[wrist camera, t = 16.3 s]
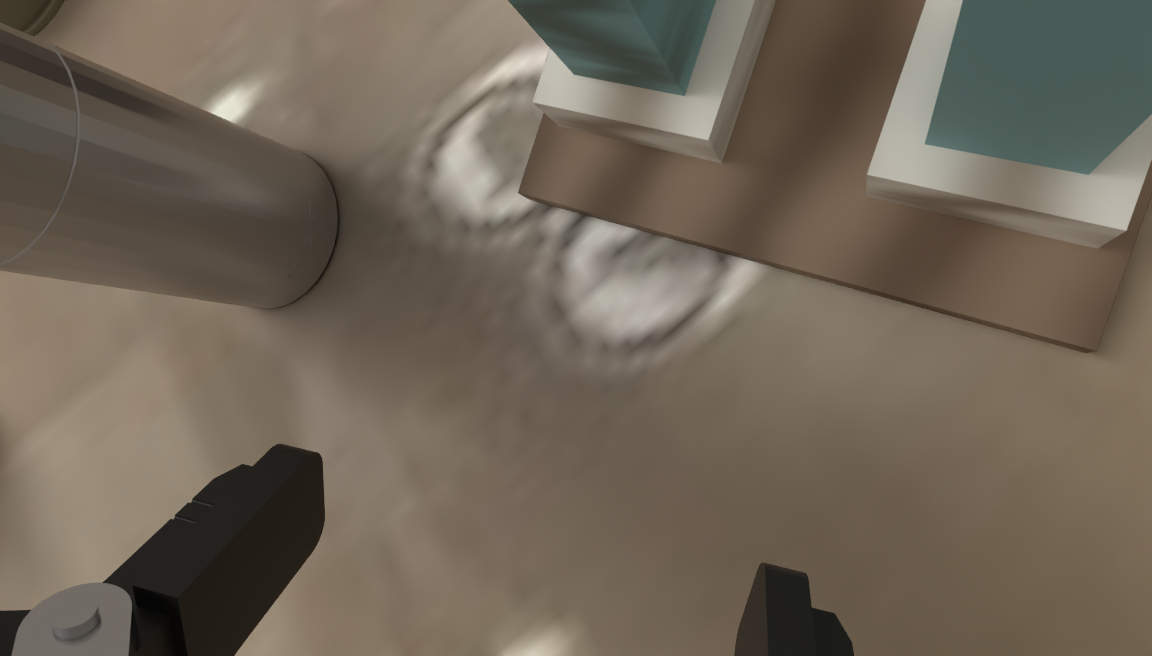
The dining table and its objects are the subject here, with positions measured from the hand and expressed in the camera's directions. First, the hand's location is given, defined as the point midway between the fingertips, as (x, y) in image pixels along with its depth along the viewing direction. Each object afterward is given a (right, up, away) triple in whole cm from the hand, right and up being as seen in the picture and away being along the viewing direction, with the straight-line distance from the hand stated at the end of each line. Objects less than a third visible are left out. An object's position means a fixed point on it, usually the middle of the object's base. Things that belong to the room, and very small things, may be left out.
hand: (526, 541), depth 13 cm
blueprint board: (+11, +14, +18) cm, 25 cm away
